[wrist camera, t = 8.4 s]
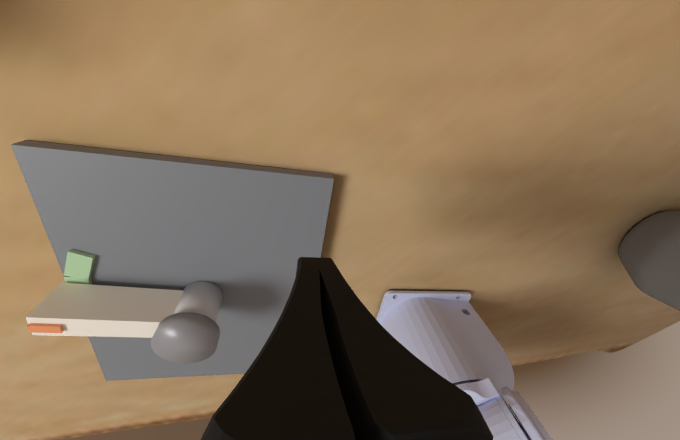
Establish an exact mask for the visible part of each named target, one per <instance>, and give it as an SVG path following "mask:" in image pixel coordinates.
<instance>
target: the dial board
mask: <svg viewBox="0 0 680 440" xmlns="http://www.w3.org/2000/svg"><path fill="white" fill-rule="evenodd" d="M11 146H12V149H13V151H14V154H15V156H16V159H17V161H18V164H19V166H20V169H21V171H22V174H23V176H24V178H25V181H26V183H27V186H28V188H29V191H30V193H31V196H32V198H33V201H34V203H35V206H36V208H37V211H38V213H39V216H40V218H41V221H42V223H43V226H44V228H45V230H46V233H47V235H48V238H49V240H50V243H51V245H52V248H53V250H54V253H55V255H56V258H57V260H58V263H59V265H60V268H61V270H62V273H63V275H64V279H65V283H75V284H90V285H105V286H121V287H136V288H152V289H167V290H184V288H185V287H186V286H187V285H189V284H191V283H193V282H198V281H204V282H209V283H212V284H214V285H216V286H218V287H219V288H220V289H221V291H222V293H223V299H222V303H221V306H220V310H219V313H218V317H217V320H216V323H217V325H218V326H219V328H220V337H219V341H218V345H217V349H216V351H215V353H214V354H213V355H212V356H211V357H209V358H207V359H205V360H203V361H200V362H197V363H190V364H181V363H174V362H170V361H167V360H165V359H162V358H161V357H159V356H158V355H157V354H156V353H155V352H154V351H153V350H152V348H151V339H152V338H139V337H97V336H88V337H89V339H90V342H91V344H92V347H93V349H94V352H95V354H96V357H97V359H98V362H99V364H100V367H101V369H102V372H103V374H104V377H105V379H106V381H109V380H128V379H148V378H167V377H187V376H206V375H226V374H245V373H246V372H247V370H248V369H249V367H250V366H251V364H252V363H253V362H254V360H255V359H256V357H257V356H258V354H259V353H260V351H261V349H262V348H263V346H264V344H265V343H266V341H267V339H268V338H269V336H270V334H271V333H272V331H273V329H274V327H275V325H276V323H277V322H278V320H279V318H280V316H281V314H282V311H283V309H284V307H285V305H286V302H287V300H288V298H289V295H290V293H291V290H292V287H293V284H294V281H295V278H296V270H297V262H298V259H299V258H300V257H317V258H321V252H322V246H323V240H324V235H325V229H326V223H327V217H328V211H329V205H330V200H331V194H332V188H333V182H334V177H333V175H332V174H330V173H321V172H312V171H302V170H293V169H284V168H275V167H266V166H257V165H248V164H239V163H230V162H221V161H212V160H203V159H194V158H185V157H176V156H166V155H157V154H148V153H139V152H130V151H121V150H112V149H103V148H94V147H85V146H76V145H67V144H58V143H49V142H39V141H30V140H24V141H21V142H18V143H14V144H11Z"/></svg>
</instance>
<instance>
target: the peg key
mask: <svg viewBox="0 0 680 440" xmlns="http://www.w3.org/2000/svg"><path fill="white" fill-rule="evenodd" d="M222 299H223V293H222V291H221V289H220V288H219V287H218V286H216V285H214V284H212V283H209V282H204V281H198V282H193V283H191V284H189V285H187V286H186V287H185V288H184V290H167V289H152V288H136V287H121V286H105V285H90V284H75V283H60V284H59V285H58V286H57V287H56V288H55V289H54V290H53V291H52V292H51V293H50V294H49V295H48V296H47V297H46V298H45V299H44V300H43V301H42V302H41V303H40V304H39V305H38V306H37V307H36V308H35V309H34V310H33V311H32V312H30V313H29V314H28V315H27V316H26V320H27V322H28V325H27V326H28V329H29V331H30V332H32V335H55V336H97V337H139V338H152V339H151V348H152V350H153V351H154V352H155V353H156V354H157V355H158V356H159V357H161V358H162V359H165V360H167V361H170V362H174V363H181V364H190V363H197V362H200V361H203V360H205V359H207V358H209V357H211V356H212V355H213V354H214V353H215V351H216V349H217V345H218V341H219V337H220V328H219V326H218V325H217V323H216V320H217V317H218V313H219V310H220V306H221V303H222Z"/></svg>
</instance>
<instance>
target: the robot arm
mask: <svg viewBox="0 0 680 440" xmlns="http://www.w3.org/2000/svg"><path fill="white" fill-rule="evenodd" d="M394 295H395V296H394ZM470 299H471V294H470V293H469V292H454V291H387V292H386V293H385V294H384V297H383V300H382V303H381V306H380V309H379V312H378V315H377V318H376V319H375V318H374V317H373V316H372V314H371V313H370V312H369V311H368V310H367V308H366V307H365V306H364V305H363V304H362V302H361V301H360V300H359V299H358V297H357V296H356V295H355V293H354V292H353V290H352V289H351V288H350V286H349V285H348V283H347V282H346V281H345V279H344V278H343V276H342V275H341V273H340V271H339V270H338V268H337V267H336V265H335V263H334V262H333V260H332V259H331V258H317V257H300V258H299V259H298V262H297V270H296V278H295V281H294V284H293V287H292V290H291V293H290V295H289V298H288V300H287V302H286V305H285V307H284V309H283V311H282V314H281V316H280V318H279V320H278V322H277V323H276V325H275V327H274V329H273V331H272V333H271V334H270V336H269V338H268V339H267V341H266V343H265V344H264V346H263V348H262V349H261V351H260V353H259V354H258V356H257V357H256V359H255V360H254V362H253V363H252V364H251V366H250V367H249V369H248V370H247V372H246V373H245V374H244V376H243V377H242V379H241V380H240V381H239V383H238V384H237V386H236V387H235V388H234V389H233V391H232V392H231V393H230V394H229V396H228V397H227V398H226V399H225V401H224V402H223V403H222V405H221V406H220V407H219V408H218V410H217V411H216V412H215V413H214V415H213V416H212V418H211V420H210V422H209V424H208V426H207V428H206V430H205V432H204V434H203V436H202V438H201V440H552V438H551V437H550V435H549V434H548V432H547V431H546V429H545V428H544V426H543V425H542V424H541V422H540V421H539V419H538V418H537V416H536V415H535V414H534V412H533V411H532V409H531V408H530V407H529V405H528V404H527V403H526V401H525V400H524V398H523V397H522V396H521V395H520V393H519V392H517V391H515V390H513V388H514V374H513V369H512V366H511V363H510V360H509V358H508V356H507V354H506V352H505V350H504V349H503V347H502V346H501V345H500V343H499V342H498V340H497V339H496V338H495V336H494V335H493V334H492V332H491V331H490V330H489V328H488V327H487V326H486V324H485V323H484V322H483V320H482V319H481V318H480V316H479V315H478V313H477V312H476V311H475V309H474V308H473V307H472V305H471V304H470V303H469V300H470ZM507 401H508V403H509V406H510V408H511V409H512V411H513V413H514V414H515V416H516V418H517V419H518V421H519V422H518V421H517V419H516V418H515V416H514V414H513V413H512V411H511V410H510V408H509V407H508V405H507V403H506V402H507Z"/></svg>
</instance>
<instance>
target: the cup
mask: <svg viewBox="0 0 680 440" xmlns="http://www.w3.org/2000/svg"><path fill="white" fill-rule="evenodd" d="M618 254H619V257H620V260H621V262H622V263H623V265H624V267H625V269H626V270H627V272H628V274H629V275H630V277H631V279H632V280H633V282H634V284H635V285H636V286H637V287H638V288H639V289H640V290H641V291H642V292H644V293H646V294H647V295H649V296H651V297H653V298H655V299H657V300H659V301H661V302H663V303H665V304H667V305H669V306H671V307H673V308H675V309H677V310H679V311H680V211H672V210H668V211H664V212H660V213H657V214H654V215H652V216H650V217H648V218H646V219H644V220H642V221H641V222H640V223H638V224H637V225H636V226H634V227H633V228H632V229H631V230H630V231H629V232H628V233H627V235H626V236H625V237H624V239H623V241H622V242H621V244H620V247H619V252H618Z"/></svg>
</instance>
